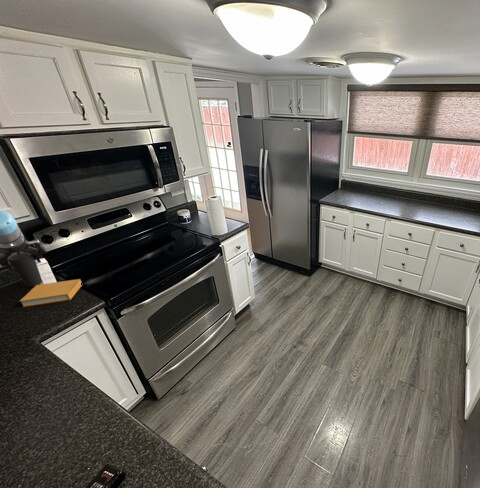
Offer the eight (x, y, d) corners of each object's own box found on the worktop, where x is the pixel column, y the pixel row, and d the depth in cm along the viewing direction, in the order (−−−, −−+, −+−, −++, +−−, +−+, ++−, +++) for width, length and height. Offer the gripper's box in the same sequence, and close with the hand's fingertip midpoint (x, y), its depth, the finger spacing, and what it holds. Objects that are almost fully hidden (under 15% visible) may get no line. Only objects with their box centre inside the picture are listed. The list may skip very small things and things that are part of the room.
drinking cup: (28, 290, 108) (4, 246, 99) (17, 286, 110) (-8, 243, 101) (51, 280, 114) (30, 239, 106) (40, 277, 117) (19, 236, 108)
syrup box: (40, 285, 141) (28, 261, 134) (55, 280, 145) (44, 257, 139) (43, 289, 138) (31, 265, 131) (58, 284, 142) (47, 260, 136)
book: (23, 307, 125) (19, 301, 123) (39, 290, 137) (36, 284, 135) (70, 299, 131) (67, 293, 129) (82, 284, 142) (80, 279, 141)
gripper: (-33, 258, 87) (-10, 280, 103) (52, 240, 101) (61, 262, 117) (-42, 239, 88) (-17, 264, 104) (44, 223, 102) (54, 248, 118)
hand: (24, 263), depth 110 cm, fingers closed on drinking cup, 8 cm apart
